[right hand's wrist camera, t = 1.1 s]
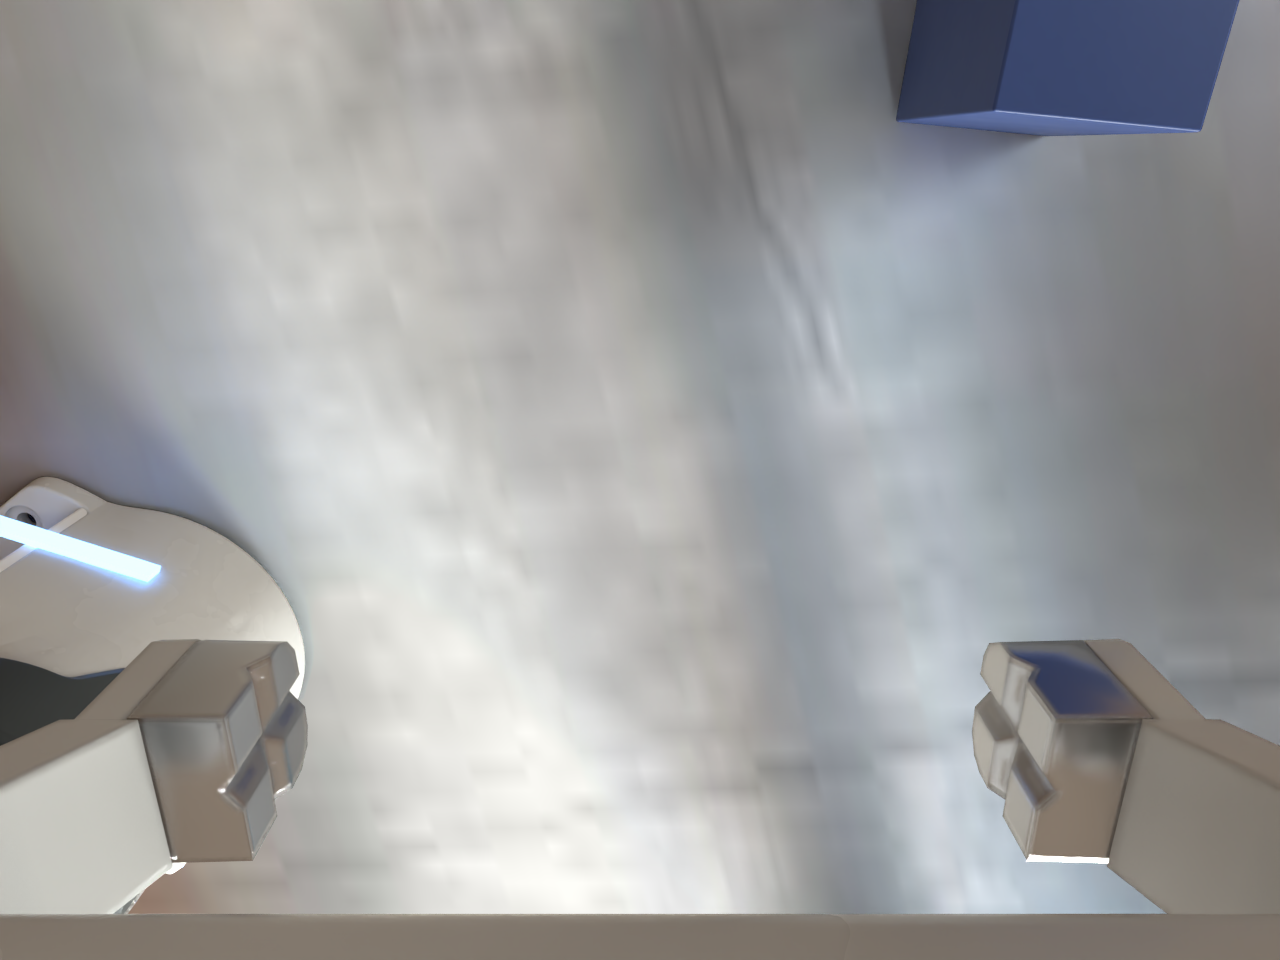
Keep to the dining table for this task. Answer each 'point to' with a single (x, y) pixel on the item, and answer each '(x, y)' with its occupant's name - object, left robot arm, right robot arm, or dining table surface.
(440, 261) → the dining table surface
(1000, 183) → the dining table surface
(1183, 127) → the box
